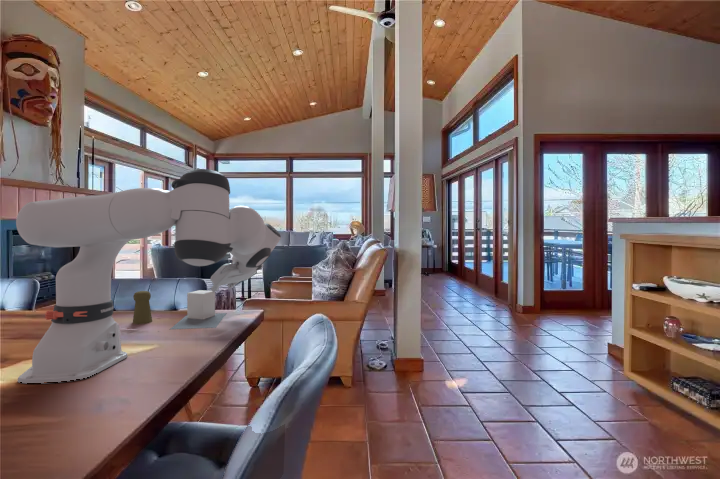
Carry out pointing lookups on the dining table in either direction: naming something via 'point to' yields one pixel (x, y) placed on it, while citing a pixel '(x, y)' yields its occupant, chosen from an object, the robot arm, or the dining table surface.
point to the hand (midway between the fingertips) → (221, 288)
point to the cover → (200, 304)
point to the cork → (142, 308)
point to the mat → (199, 322)
